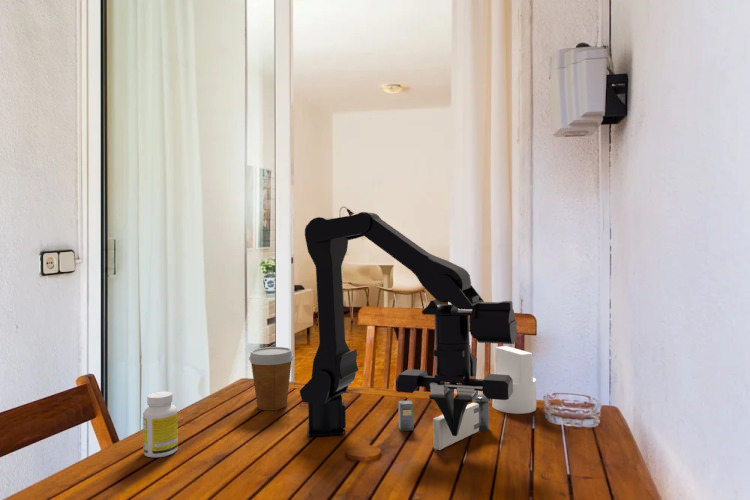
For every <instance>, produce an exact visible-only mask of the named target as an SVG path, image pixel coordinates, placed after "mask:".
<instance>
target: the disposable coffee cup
mask: <svg viewBox="0 0 750 500" xmlns="http://www.w3.org/2000/svg"><path fill="white" fill-rule="evenodd" d="M294 355H295V354H293V351H292V348H289V347H284V346H269V347H261V348H256V349H253V350H251V352H250V355H249V356H248V360H249V361H250V363H251V364H250V365H251V372H252V378H253V386H254V391H255V393H254V394H255V398H256V407H257V409H259V410H263V411H276V410H281V409H284V408H286V407H287V406H288V397H289V396H288V395H289V388H290V379H291V378H290V377H291V371H292V370H291V369H292V362H293V358H294Z"/></svg>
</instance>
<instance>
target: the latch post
mask: <svg viewBox="0 0 750 500" xmlns="http://www.w3.org/2000/svg"><path fill="white" fill-rule="evenodd" d="M397 409H398V429H399V431H400V432H405V431H409V432H410V431H414V403H413V401H412V400H398V408H397Z"/></svg>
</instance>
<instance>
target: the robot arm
mask: <svg viewBox="0 0 750 500" xmlns="http://www.w3.org/2000/svg"><path fill="white" fill-rule="evenodd" d="M362 237H364V238H366V239H367V240H369V241H370V242H372V243H373V244H374V245H376V246H377V247H378V248H380V249H381V250H383V251H384V252H385V253H386V254H388V255H389V256H390V257H392V258H393V259H394V260H396V261H397V262H399V264H401V265H403V266H404V267H405V268H406V269H408V270H409V271H410V272H412V273H413V274H414V275H415V277H416V279H417V280H418V281H419V283H420V285H421V286H422V287H423V288H424V289H425V290H426V291H427V292H428V293H429V294H430V295H431V296H432V298H434V299H433V300H430V302H429V303H428V305H426V307H425V308H424V309H422V310H421V314H422V315H423V316H425V315H429V316H433V317H434V321H433V322H434V346H435V347H434V349H433V357H435V374H434V375H428V372H427V370H426V369H415V368H414V369H411V368H409V369H406V370H404V371H402V372H401V373H399V374H398V376H396V380H395V391H396V392H397V393H405V394H406V393H407V394H413V393H414V392H415V391H416V390H417V389H418V388H430V394H429V396H428V398H429V400H433V401H434V402H435V403H436V405H437V406H438V408H439V410H440V412H441V414H443V416H444V418H445V420H446V422H447V425H448V427H449V429H450V431H451V433H452V436H457V435H458V432H459V428H460V425H461V422H462V418H463V415H464V412H465V409H466V407H467V405H468V404H470V403H473V402H474V401H475V400H474V399H475V398H476V396H477V395H479V392H482V395H485V396H486V397H487V399H490V400H492V399H497V400H508V399H509V398H510V396H511V394H512V392H513V380H512V378H511V377H510V376H509V375H500V374H496V373H488V374H487V375H486V376H485V377H484V378H483V379H482V378H472V377H477V368H478V367H477V363H478V361H477V360H478V359H477V357H476V356H475V355H474V354H472V347H471V342H470V341H471V340H470V336H471V337H472V338H473V339H476V342H477V343H480V344H499V345H500V344H501V345H515V343H516V339H517V331H518V329H517V326H518V324H517V321H518V320H517V319H516V316H515V311H514V308H513V301H512V300H504V301H484V299H483V298H482V297H481V296H480V294H479V293H478V292H477V290H476V289H475V288H474V287H473V285H472V281H471V276H470V274H469V272H468V271H467V270H466V269H465V268H464V267H462V266H459V265H457V264H456V263H453V262H450V261H449V260H446V259H444V258H441V257H438V256H436V255H434V254H431V253H429V252H428V251H427V250H425V249H424V248H422V247H421V246H419V245H418V243H417V244H416V243H415V242H414V241H412V240H411V239H410V238H408V237H407V236H406V235H404V234H403V233H401V232H400V231H399V230H397V229H396V228H394V227H393V226H392V225H391V224H388V222H386V220H383V219H382V218H381V217H380V216H379V215H378V214H377V213H375V212H369V211H368V212H367V211H366V212H365V211H360V212H358V213H356V214H352V215H351V214H350V215H346V216H341V217H333V218H332V217H323V216H322V217H320V216H318V217H314V218H313V219H312V218H311V220H310V221H309V222H308V224H306V225H305V228H304V239H305V244H306V248H307V252H308V255H309V257H310V258H311V260H312V263H313V265H314V266H315V278H316V298H317V299H316V302H317V316H318V317H317V319H318V320H317V321H318V341H319V343H318V346H317V349H316V352H315V355H314V357H313V360H312V369H311V378H310V379H309V380H308V381H307V382H306V383H305V384H304V385H303V387H301V389H300V390H299V396H300V398H301V401H302V403H307V404H308V406H307V407H308V408H307V410H308V411H307V412H308V417H307V418H308V423H307V436H308V437H322V436H323V437H325V436H339V435H340V436H341V435H344V434H345V433H344V432H345V431H344V429H345V428H346V425H347V424H346V421H347V419H346V418H347V417H346V416H347V415H346V414H347V413H346V403H345V402H344V401H343V397H342V395H343V394H346V393H347V391H348V388H349V386H350V385H351V384H352V383H353V381H354V380H355V378H356V373H357V372H359V371H360V369H359V367H358V364H357V362H358V361H357V356H358V351H357V349H352V350H350V348H349V346H348V344H347V341H346V329H345V311H344V310H345V308H344V289H343V288H344V287H343V273H342V272H343V271H342V270H343V269H342V265H343V262H344V259H345V257H346V255H347V252H348V244H349V241H351V240H356V239H359V238H362ZM440 302H441V303H442V304H441V303H440ZM443 303H444V304H443ZM445 303H446V304H445ZM448 303H449V304H448ZM455 390H456V392H457V394H456V395H455Z"/></svg>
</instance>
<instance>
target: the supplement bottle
mask: <svg viewBox="0 0 750 500" xmlns="http://www.w3.org/2000/svg"><path fill="white" fill-rule="evenodd" d="M146 398H147V399H146V403H147V406H148V407H146V408H145V409H144V410H143V412H142V428H143V429H142V433H143V434H142V436H143V444H142V445H143V455H144V456H145V457H148V458H162V457H168V456H169V455H170V456H171V455H172V454H174V453H175V452H176V451H177V450H178V449H179V448H178V447H179V444H178V443H179V439H178V438H179V437H178V436H179V434H178V429H179V428H178V409H177V407H176V405H174V404H172V403H173V398H174V395H173V392H171V391H157V392H152V393H150V394H148V395H147V396H146Z"/></svg>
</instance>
